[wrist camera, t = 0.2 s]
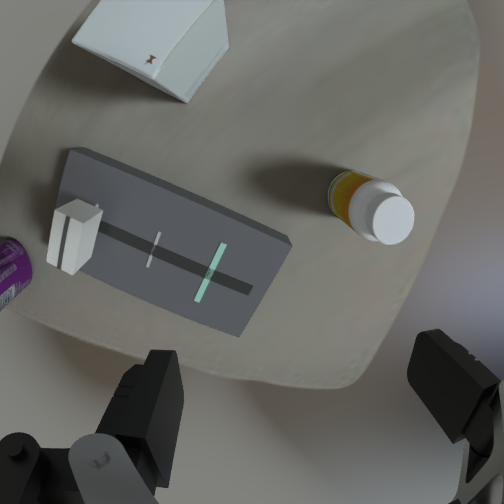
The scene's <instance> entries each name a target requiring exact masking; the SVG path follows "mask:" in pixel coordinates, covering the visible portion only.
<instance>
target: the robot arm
mask: <svg viewBox="0 0 504 504" xmlns="http://www.w3.org/2000/svg"><path fill="white" fill-rule="evenodd" d="M407 378H408V382H409V383H410V385H411V387H412V388H413V389H414V391H415V392H416V393H417V395H418V396H419V397H420V399H421V400H422V402H423V403H424V404H425V406H426V407H427V408H428V410H429V411H430V413H431V414H432V415H433V417H434V418H435V419H436V421H437V422H438V424H439V425H440V426H441V428H442V429H443V431H444V432H445V433H446V435H447V436H448V438H449V439H450V440H451V442H452V443H453V444H454V443H456V442H458V441H460V440H462V439H464V438H466V439H467V440H468V441H467V443H466V444H465V446H464V450H463V458H462V466H461V473H460V479H459V485H458V490H457V493H456V495H455V497H454V499H453V500H452V502H450V503H449V504H504V380H503V381H501V380H499V379H498V378H497V377H496V376H495V375H494V374H493V373H492V372H491V371H490V370H489V369H488V368H487V367H486V366H484V365H483V364H482V363H481V362H480V361H477V358H475V357H474V356H473V355H472V354H471V355H470V352H469V351H467V349H465V348H464V347H463V346H462V345H460V344H458V343H456V342H454V341H453V340H452V339H450V338H449V337H448V336H447V335H446V334H445V333H444V332H443V331H441V330H440V329H434V330H428V331H423V332H420V333H419V334H418V335H417V337H416V340H415V344H414V348H413V352H412V355H411V359H410V362H409V365H408V369H407ZM183 405H184V391H183V385H182V380H181V374H180V369H179V363H178V357H177V353H176V351H175V350H150V352H149V354H148V356H147V359H146V361H145V363H144V365H138V364H135V365H134V366H133V367H131V368H130V369H129V370H128V371H127V372H125V373H124V375H123V377H122V379H121V381H120V383H119V384H118V387H117V389H116V391H115V393H114V397H112V399H111V401H110V403H109V405H108V407H107V409H106V411H105V413H104V415H103V417H102V419H101V421H100V424H99V426H98V428H97V430H96V432H95V434H89V435H86V436H83V437H81V438H79V439H78V440H77V441H75V442H74V444H73V445H72V446H71V448H66V449H60V448H59V449H58V448H54V449H53V448H41V447H40V446H39V444H38V443H37V441H36V440H35V439H34V438H33V437H32V436H30V435H29V434H26V433H21V432H17V433H12V434H9V435H7V436H5V437H4V438H3V439H2V440H1V441H0V504H159V503H158V502H157V500H156V499H155V498H154V495H155V490H156V487H163V488H168V486H169V481H170V474H171V469H172V463H173V458H174V452H175V447H176V442H177V436H178V431H179V426H180V421H181V415H182V410H183Z"/></svg>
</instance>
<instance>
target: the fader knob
mask: <svg viewBox="0 0 504 504" xmlns="http://www.w3.org/2000/svg"><path fill="white" fill-rule="evenodd" d="M102 213H103V210H101V209H99V208H97V207H95V206H93V205H90V204H88V203H86V202H84V201H82V200H80V199H75V200H73V201H71V202H69V203H67V204H65V205H63V206H61V207H59V208H57V209H55V212H54V217H53V222H52V227H51V233H50V239H49V246H48V253H47V262H48V263H50V264H52V265H54V266H56V267H57V268H58V269H60V270H63V271H65V272H67V273H69V274H71V275H74V274H75V273H76V272H77V271H78V270H79V269H80V268H81V267H82V266H83V265H84V264H85V263H86V262H87V261H88V260H89V259H90V258H91V256H92V252H93V248H94V244H95V239H96V236H97V232H98V228H99V224H100V221H101V217H102Z"/></svg>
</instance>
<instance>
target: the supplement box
mask: <svg viewBox="0 0 504 504" xmlns="http://www.w3.org/2000/svg"><path fill="white" fill-rule="evenodd" d="M72 43H74V44H75V45H77V46H79V47H81V48H83V49H85V50H86V51H88V52H90V53H92V54H94V55H96V56H98V57H100V58H102V59H104V60H106V61H108V62H110V63H112V64H114V65H116V66H117V67H119V68H121V69H123V70H125V71H127V72H129V73H130V74H132V75H134V76H135V77H137V78H139V79H141V80H143V81H144V82H146V83H148V84H150V85H152V86H153V87H155V88H157V89H159V90H161V91H163V92H165V93H167V94H169V95H171V96H173V97H175V98H177V99H179V100H181V101H182V102H184V103H186V104H187V103H188V102H189V101H190V99H191V98H192V96H193V95H194V94H195V92H196V91H197V89H198V88H199V86H200V85H201V84H202V82H203V81H204V80H205V78H206V77H207V76H208V74H209V73H210V72H211V70H212V69H213V68H214V66H215V65H216V64H217V63H218V61H219V60H220V59H221V58H222V56H223V55H224V54H225V53H226V51H227V50H228V48H229V45H228V35H227V27H226V17H225V8H224V0H101V1H100V2H99V4H98V5H97V6H96V8H95V9H94V10H93V11H92V13H91V14H90V15H89V16H88V18H87V19H86V20H85V22H84V23H83V25H82V26H81V27H80V29H79V30H78V32H77V33H76V35H75V36H74V37H73V39H72Z"/></svg>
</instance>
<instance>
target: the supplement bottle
mask: <svg viewBox="0 0 504 504" xmlns="http://www.w3.org/2000/svg"><path fill="white" fill-rule="evenodd" d="M328 203H329V206H330V208H331V210H332V212H333V213H334V214H335V215H336V216H337V217H338V218H340V219H341V220H342V221H343V222H345V223H346V224H347V225H348V226H349V227H350V228H352V229H353V230H354V231H355V232H356V233H357V234H359V235H360V236H361V237H363V238H364V239H367V240H370V241H380V242H381V243H383V244H387V245H393V244H397V243H399V242H401V241H403V240H404V239H405V238H406V237H407V236H408V234H409V233H410V231H411V229H412V227H413V223H414V211H413V208H412V206H411V204H410V203H409V201H408V200H406V199H405V198H403V197H402V195H401V193H400V192H399V190H398V189H397V188H396V187H395V186H394V185H392V184H390V183H389V182H387V181H384V180H381V179H378V178H376V177H373V176H370V175H367V174H364V173H361V172H358V171H346V172H343V173H341V174H339V175H338V176H337V177H335V178H334V180H333V181H332V182H331V184H330V187H329V190H328Z"/></svg>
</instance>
